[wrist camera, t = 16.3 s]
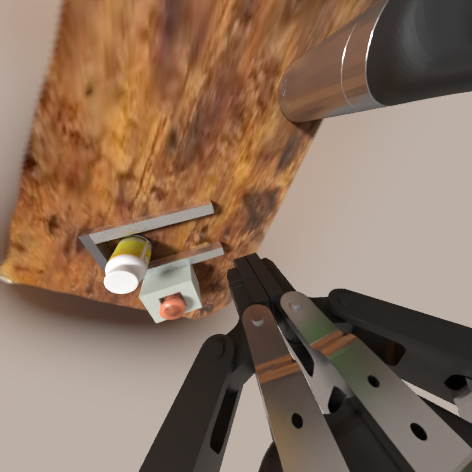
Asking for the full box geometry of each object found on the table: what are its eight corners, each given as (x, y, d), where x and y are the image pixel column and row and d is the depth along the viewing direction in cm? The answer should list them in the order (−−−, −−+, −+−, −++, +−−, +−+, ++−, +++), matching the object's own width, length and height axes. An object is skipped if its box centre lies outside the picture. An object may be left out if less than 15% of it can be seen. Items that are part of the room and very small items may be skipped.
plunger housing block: (189, 257, 41) (191, 280, 34) (199, 284, 45) (202, 308, 39) (145, 270, 39) (138, 296, 32) (160, 296, 44) (157, 324, 37)
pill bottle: (111, 245, 34) (86, 282, 25) (136, 228, 34) (121, 259, 25) (135, 264, 38) (121, 303, 28) (158, 248, 38) (152, 283, 28)
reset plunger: (181, 284, 36) (181, 298, 33) (187, 299, 39) (188, 314, 35) (157, 291, 35) (155, 307, 32) (166, 306, 38) (164, 322, 34)
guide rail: (209, 199, 36) (211, 203, 33) (221, 247, 42) (224, 254, 40) (86, 229, 32) (78, 237, 29) (119, 278, 38) (115, 287, 36)
